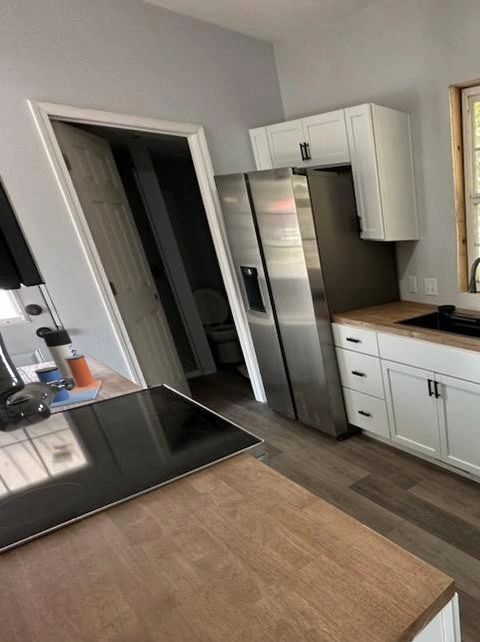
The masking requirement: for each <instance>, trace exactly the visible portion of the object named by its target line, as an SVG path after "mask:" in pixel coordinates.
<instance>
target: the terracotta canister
mask: <svg viewBox="0 0 480 642" xmlns="http://www.w3.org/2000/svg"><path fill="white" fill-rule="evenodd" d="M64 360H65V361H66V364H67V366H68V368H69V371H70V373H71V375H72V377H73V380H74V382H75V384H76V386H77V387H85V386H90V385H93V384H95V380H94V377H93V374H92V372H91V370H90V367H89V365H88V363H87V361H86V358H85V355H84V354H77V355H74V356H69V357H66V358H64Z"/></svg>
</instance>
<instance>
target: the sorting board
mask: <svg viewBox="0 0 480 642" xmlns="http://www.w3.org/2000/svg"><path fill="white" fill-rule="evenodd" d="M94 382H95V384H93V385H90V386H85V387H77V386H75V387H74V388H73V390H71V391H68V393H69V396H70V398H69V399H67V400H64V401H60V402H54V403H52V404H51V405H50V406H49V408H50V409H52V408H57V407H62V406H67V405H73V404H77V403H82V402H87V401H93V400H95V398H96V397H97V394H98V392H99V389H100V387H101V384H102V383H103V381H102V380H96V381H95V380H94Z"/></svg>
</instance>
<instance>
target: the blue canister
mask: <svg viewBox="0 0 480 642" xmlns="http://www.w3.org/2000/svg"><path fill="white" fill-rule="evenodd" d="M34 373H35V374H36V377H37V379H38V382H45V383H49V382H52V381H59V380H61V378H62V377H61V375H60V373H59V371H58V368H57V367H56V366H49V367H43V368H39V369H36V370H34ZM52 385H54V384H52ZM60 385H61V386H62V384H61V383H60ZM69 398H70V396H69V393H68V391H67V390H66V389H63V390H62V391H60V392H57V395H56V398H55V399H54V401H53V402H52V403H54V402H60V401H64V400H67V399H69Z"/></svg>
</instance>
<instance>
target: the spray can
mask: <svg viewBox="0 0 480 642" xmlns="http://www.w3.org/2000/svg"><path fill="white" fill-rule="evenodd" d="M41 336H42V338H43V341H44V343H45V345H46V348H47V350H48V352H49V354H50V356H51V358H52V360H53V363H54V364H55V367H57V368H58V371H59V373H60V375H61V378H64V377H65V378H68V379H70V378H73V377H72V375H71V373H70V371H69V368H68V366H67V364H66V361H65V360H64V358H66V357H69V356H74V355H78V352H77V350H76V348H75V346H74V344H73V341H72V339H71V337H70V334H69V333H68V331H67V329H56V330H49V331H44V332H43V333H41Z"/></svg>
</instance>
